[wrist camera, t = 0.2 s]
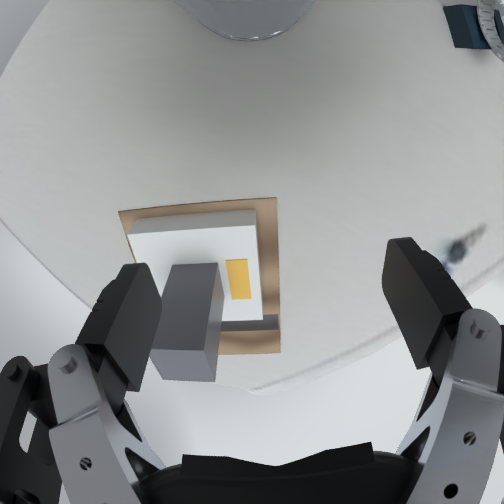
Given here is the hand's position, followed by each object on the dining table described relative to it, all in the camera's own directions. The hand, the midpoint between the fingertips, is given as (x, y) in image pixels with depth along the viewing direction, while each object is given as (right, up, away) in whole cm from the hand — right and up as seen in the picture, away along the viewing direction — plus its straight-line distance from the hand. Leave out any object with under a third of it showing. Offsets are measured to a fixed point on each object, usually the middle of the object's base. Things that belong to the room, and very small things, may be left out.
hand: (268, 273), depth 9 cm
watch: (+20, +22, +6) cm, 31 cm away
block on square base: (-6, -1, +22) cm, 23 cm away
